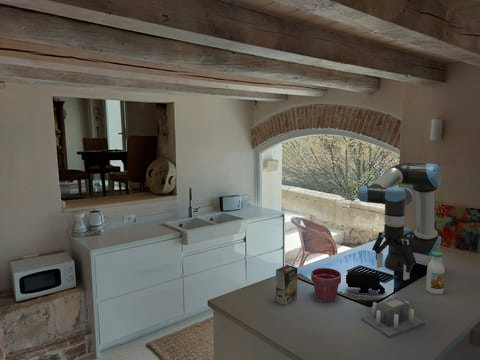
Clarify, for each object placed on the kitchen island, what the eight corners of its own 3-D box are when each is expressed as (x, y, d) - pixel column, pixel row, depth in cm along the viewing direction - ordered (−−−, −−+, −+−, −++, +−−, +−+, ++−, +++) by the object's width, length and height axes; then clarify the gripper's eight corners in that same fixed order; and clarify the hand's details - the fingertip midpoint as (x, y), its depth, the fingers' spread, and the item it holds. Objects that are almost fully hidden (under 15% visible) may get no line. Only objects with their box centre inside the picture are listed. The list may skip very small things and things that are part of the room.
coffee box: (286, 305, 162) (285, 273, 160) (275, 301, 167) (275, 269, 165) (297, 299, 169) (297, 267, 167) (287, 294, 173) (287, 264, 171)
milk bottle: (423, 291, 173) (425, 253, 170) (428, 286, 179) (430, 249, 176) (441, 296, 168) (443, 256, 165) (445, 290, 173) (447, 252, 171)
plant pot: (316, 288, 179) (316, 265, 177) (343, 294, 172) (344, 270, 170) (307, 300, 167) (307, 275, 165) (336, 307, 160) (336, 281, 158)
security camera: (386, 297, 168) (386, 277, 167) (346, 294, 172) (346, 275, 171) (383, 290, 175) (384, 272, 174) (345, 288, 179) (345, 269, 177)
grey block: (396, 312, 152) (397, 297, 151) (408, 319, 147) (408, 303, 146) (376, 319, 147) (376, 304, 146) (387, 326, 142) (388, 310, 141)
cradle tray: (395, 307, 158) (395, 293, 157) (425, 324, 145) (426, 308, 144) (360, 319, 149) (361, 304, 148) (388, 337, 136) (389, 321, 135)
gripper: (364, 219, 153) (363, 264, 156) (414, 233, 131) (412, 286, 134) (377, 216, 156) (375, 261, 160) (427, 230, 134) (425, 282, 137)
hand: (392, 273), depth 147 cm, fingers open, 13 cm apart
